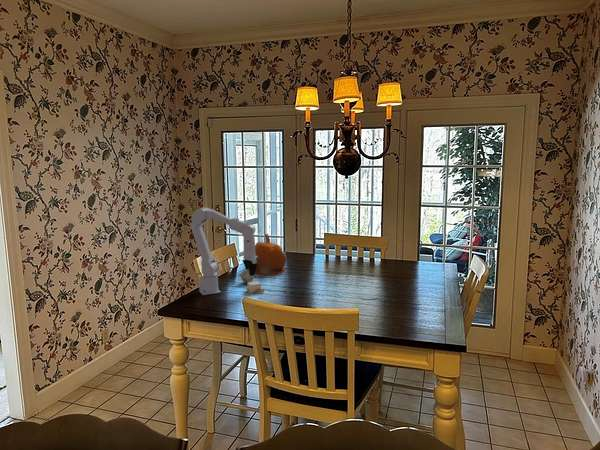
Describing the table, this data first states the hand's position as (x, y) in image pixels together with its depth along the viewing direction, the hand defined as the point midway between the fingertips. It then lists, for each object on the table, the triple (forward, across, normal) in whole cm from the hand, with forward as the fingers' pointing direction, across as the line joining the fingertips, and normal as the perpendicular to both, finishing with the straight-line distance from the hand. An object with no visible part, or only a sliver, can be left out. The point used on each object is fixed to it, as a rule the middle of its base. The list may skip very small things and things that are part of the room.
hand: (250, 274), depth 227 cm
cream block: (+8, +2, -2) cm, 8 cm away
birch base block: (+10, +1, -3) cm, 11 cm away
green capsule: (+2, 0, 0) cm, 2 cm away
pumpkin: (+10, +38, -24) cm, 46 cm away
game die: (+10, +18, -4) cm, 21 cm away
